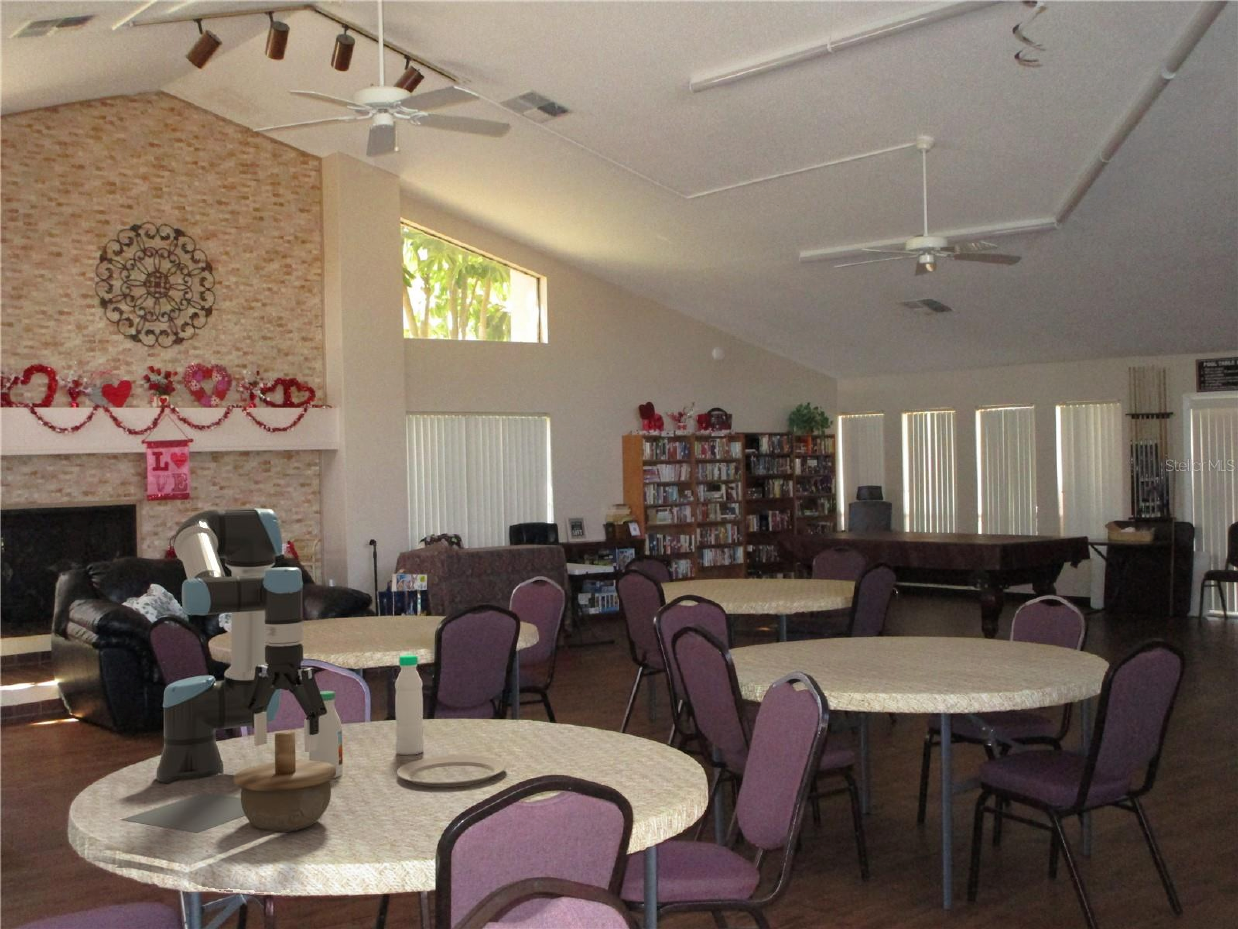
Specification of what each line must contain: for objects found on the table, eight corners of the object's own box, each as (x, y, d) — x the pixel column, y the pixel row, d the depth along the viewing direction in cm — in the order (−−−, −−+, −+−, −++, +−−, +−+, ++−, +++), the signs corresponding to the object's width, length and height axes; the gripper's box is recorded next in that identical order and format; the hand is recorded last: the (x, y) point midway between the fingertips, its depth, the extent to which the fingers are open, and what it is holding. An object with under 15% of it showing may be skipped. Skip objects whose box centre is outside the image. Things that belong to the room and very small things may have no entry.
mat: (120, 824, 228) (120, 819, 228) (204, 797, 248) (204, 792, 248) (197, 837, 218) (197, 832, 218) (278, 808, 238) (278, 803, 238)
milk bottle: (333, 780, 260) (332, 695, 260) (303, 779, 261) (302, 695, 262) (348, 772, 267) (347, 689, 268) (318, 771, 269) (317, 689, 269)
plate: (375, 779, 262) (375, 770, 262) (460, 758, 280) (459, 750, 280) (442, 797, 244) (442, 788, 244) (527, 774, 263) (527, 765, 263)
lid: (211, 784, 221) (211, 739, 221) (284, 761, 238) (283, 719, 239) (286, 795, 212) (286, 748, 212) (356, 770, 229) (355, 727, 229)
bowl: (317, 839, 216) (316, 788, 216) (227, 840, 216) (226, 789, 217) (341, 813, 233) (340, 765, 234) (257, 814, 234) (256, 767, 234)
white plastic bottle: (410, 757, 282) (409, 658, 282) (390, 754, 285) (388, 657, 286) (429, 751, 288) (427, 654, 288) (409, 748, 291) (407, 653, 292)
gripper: (225, 643, 228) (226, 746, 228) (317, 649, 217) (319, 757, 216) (252, 638, 235) (253, 738, 234) (343, 643, 223) (345, 749, 223)
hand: (285, 747), depth 225 cm, fingers open, 13 cm apart
